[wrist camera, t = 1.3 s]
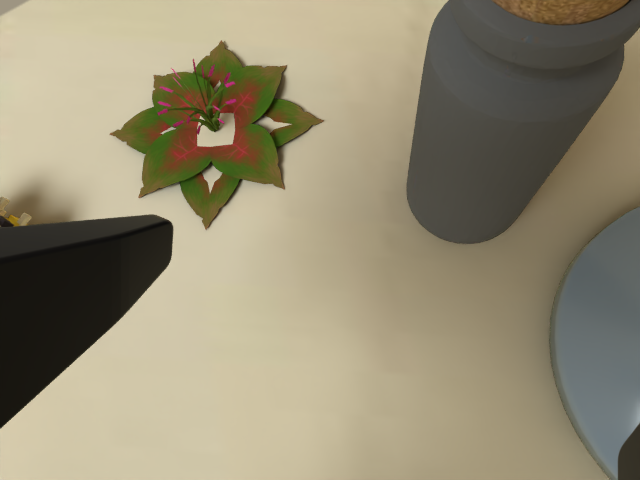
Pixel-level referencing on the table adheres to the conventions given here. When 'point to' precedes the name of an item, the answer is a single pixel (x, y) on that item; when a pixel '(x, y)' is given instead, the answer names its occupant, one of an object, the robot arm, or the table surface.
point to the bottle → (507, 104)
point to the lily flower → (213, 129)
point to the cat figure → (11, 220)
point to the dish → (601, 340)
